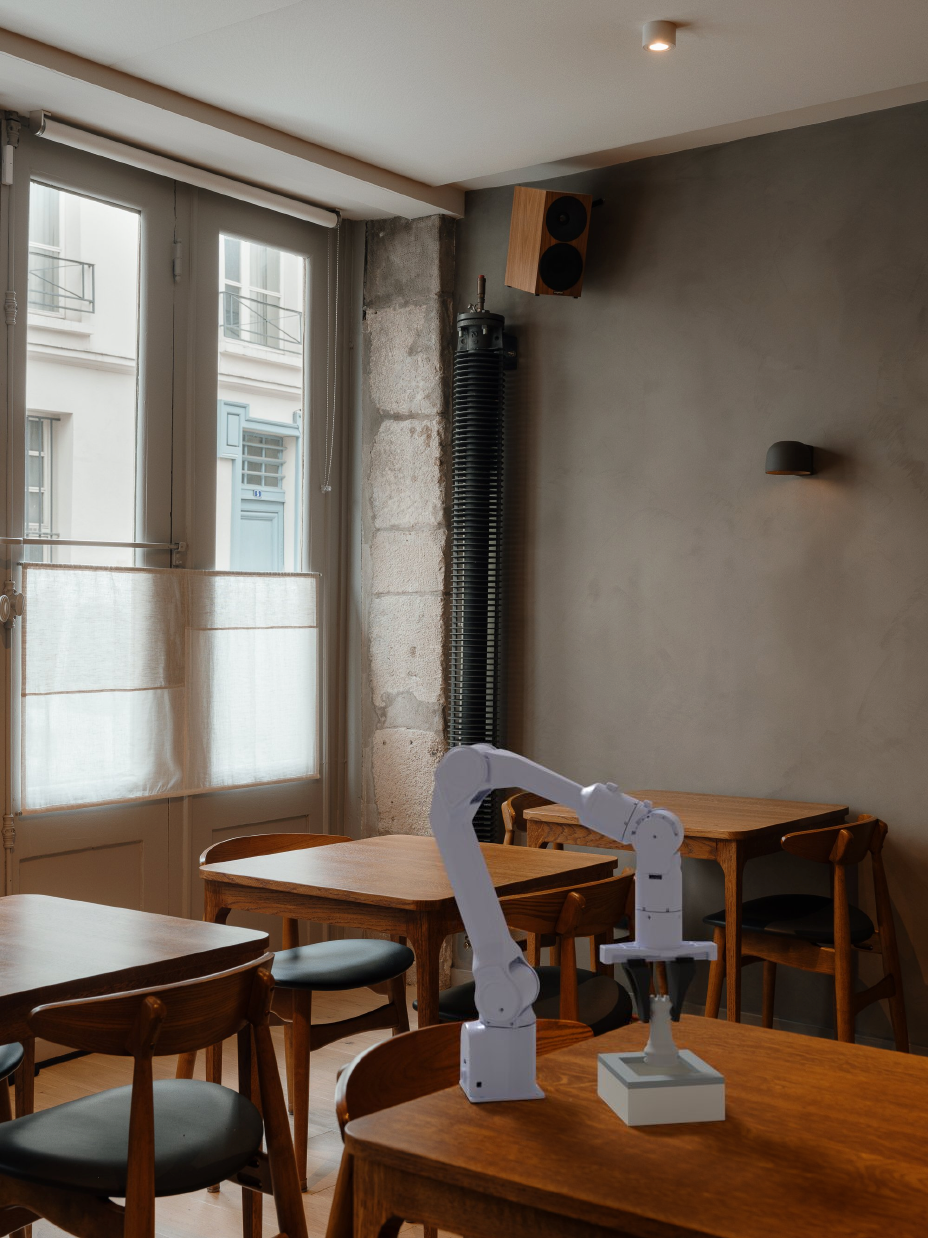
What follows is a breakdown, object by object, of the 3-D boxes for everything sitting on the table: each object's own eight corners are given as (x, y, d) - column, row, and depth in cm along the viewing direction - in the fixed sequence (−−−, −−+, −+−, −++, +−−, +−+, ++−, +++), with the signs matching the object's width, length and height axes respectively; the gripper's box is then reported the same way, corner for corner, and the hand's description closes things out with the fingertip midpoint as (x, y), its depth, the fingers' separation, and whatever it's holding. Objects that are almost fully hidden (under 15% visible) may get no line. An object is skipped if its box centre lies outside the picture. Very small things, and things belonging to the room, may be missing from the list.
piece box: (628, 1126, 148) (628, 1082, 148) (597, 1094, 160) (597, 1054, 160) (724, 1120, 150) (724, 1077, 150) (687, 1089, 162) (687, 1049, 162)
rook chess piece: (677, 1068, 151) (674, 999, 153) (640, 1066, 153) (637, 998, 154) (683, 1062, 156) (680, 994, 157) (646, 1060, 157) (644, 993, 158)
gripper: (612, 915, 151) (612, 1032, 150) (726, 912, 154) (727, 1026, 153) (594, 906, 158) (594, 1017, 157) (704, 903, 161) (705, 1012, 160)
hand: (658, 1021), depth 155 cm, fingers closed on rook chess piece, 3 cm apart
